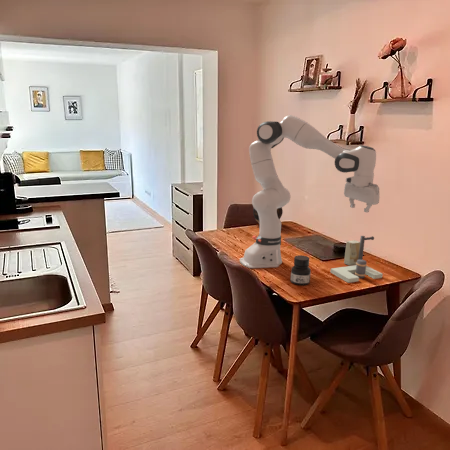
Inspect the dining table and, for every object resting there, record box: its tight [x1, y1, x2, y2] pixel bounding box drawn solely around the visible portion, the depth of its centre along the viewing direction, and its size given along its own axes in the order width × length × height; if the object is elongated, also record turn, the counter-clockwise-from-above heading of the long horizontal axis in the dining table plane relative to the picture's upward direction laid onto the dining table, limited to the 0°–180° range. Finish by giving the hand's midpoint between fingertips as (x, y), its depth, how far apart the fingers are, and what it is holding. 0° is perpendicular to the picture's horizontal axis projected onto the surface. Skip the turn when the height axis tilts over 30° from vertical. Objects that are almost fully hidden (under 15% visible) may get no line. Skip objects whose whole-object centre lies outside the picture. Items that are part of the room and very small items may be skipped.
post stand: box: [329, 235, 383, 283], centre depth 201 cm, size 22×14×18 cm, turn 111°
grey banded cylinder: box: [354, 259, 368, 279], centre depth 200 cm, size 5×5×8 cm
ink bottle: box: [290, 254, 312, 286], centre depth 191 cm, size 10×9×12 cm
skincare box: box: [343, 240, 360, 266], centre depth 217 cm, size 6×4×12 cm
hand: (359, 209), depth 198 cm, fingers open, 8 cm apart
